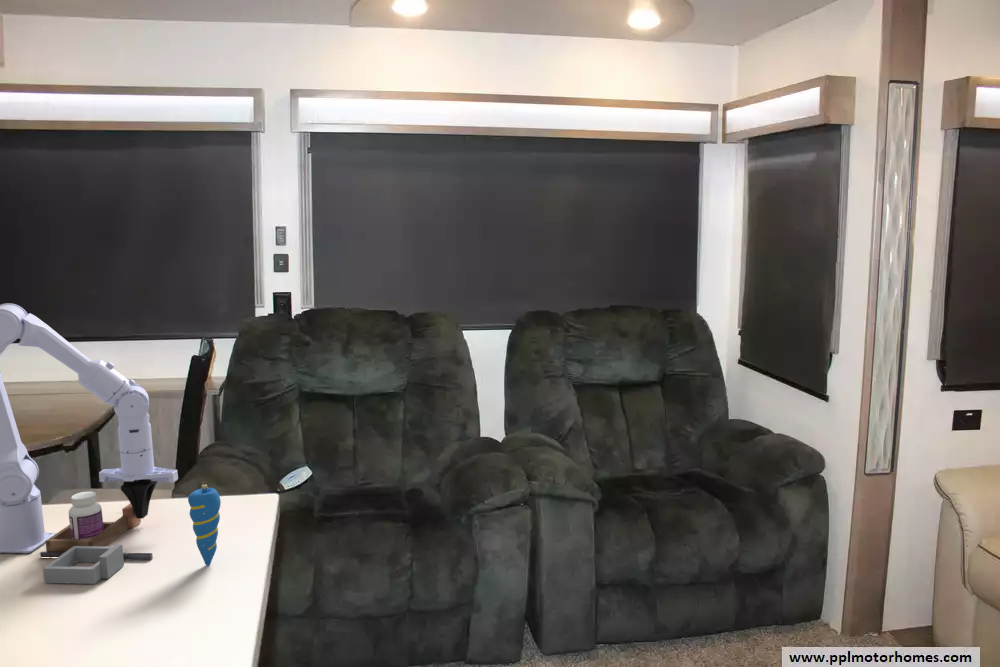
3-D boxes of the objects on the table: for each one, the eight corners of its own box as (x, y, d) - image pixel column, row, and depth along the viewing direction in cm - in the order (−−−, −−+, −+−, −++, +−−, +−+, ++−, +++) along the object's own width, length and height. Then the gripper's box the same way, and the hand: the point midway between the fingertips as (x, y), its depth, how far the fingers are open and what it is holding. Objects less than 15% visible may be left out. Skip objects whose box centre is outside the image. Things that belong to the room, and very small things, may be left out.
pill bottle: (111, 539, 146) (106, 490, 144) (93, 552, 140) (88, 500, 139) (84, 538, 146) (79, 489, 145) (65, 550, 141) (60, 499, 140)
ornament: (186, 567, 134) (179, 484, 132) (210, 555, 138) (204, 474, 136) (207, 574, 132) (201, 488, 129) (231, 561, 136) (225, 479, 134)
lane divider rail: (40, 558, 138) (40, 552, 138) (42, 556, 139) (42, 551, 139) (151, 560, 137) (150, 554, 137) (152, 558, 138) (152, 553, 137)
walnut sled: (46, 554, 139) (44, 534, 139) (93, 521, 154) (92, 502, 153) (98, 555, 139) (96, 534, 138) (140, 521, 153) (139, 503, 153)
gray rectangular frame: (44, 582, 129) (42, 561, 128) (75, 559, 137) (73, 538, 136) (102, 583, 128) (100, 561, 127) (129, 560, 137) (127, 539, 136)
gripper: (87, 455, 146) (94, 524, 148) (163, 455, 145) (169, 525, 147) (108, 443, 153) (114, 510, 155) (180, 444, 152) (185, 510, 154)
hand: (142, 516), depth 152 cm, fingers closed
